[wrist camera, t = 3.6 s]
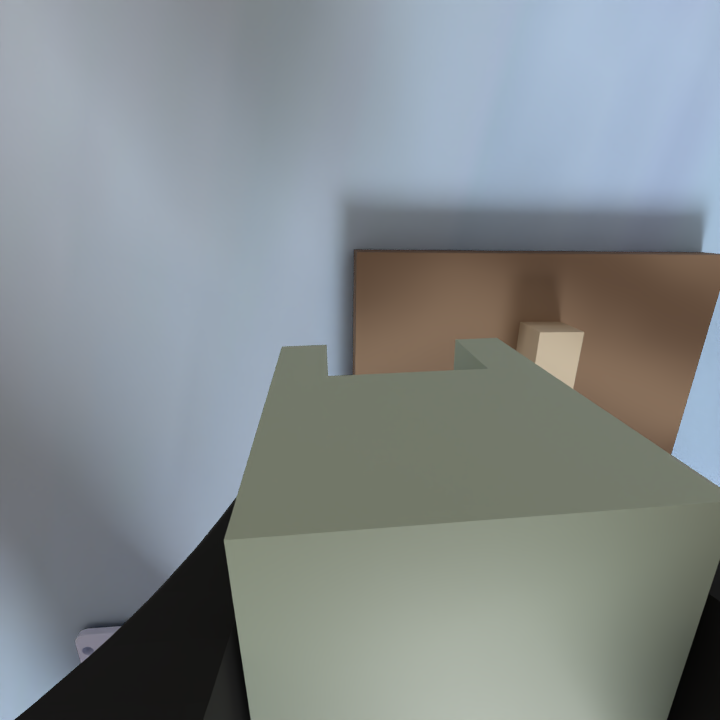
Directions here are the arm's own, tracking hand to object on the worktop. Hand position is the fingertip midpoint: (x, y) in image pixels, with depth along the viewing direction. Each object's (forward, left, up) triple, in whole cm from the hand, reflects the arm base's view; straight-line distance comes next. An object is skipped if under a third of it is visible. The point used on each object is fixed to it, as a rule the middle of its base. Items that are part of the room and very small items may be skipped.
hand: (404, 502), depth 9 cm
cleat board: (-3, -6, -8) cm, 11 cm away
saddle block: (0, 0, -2) cm, 2 cm away
